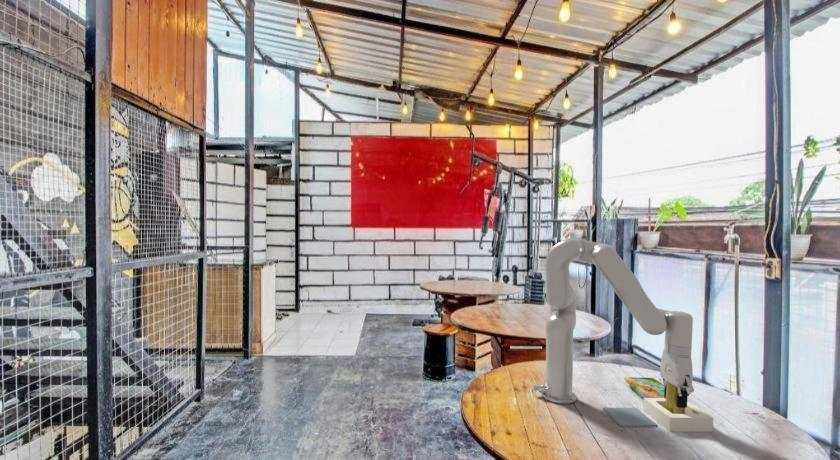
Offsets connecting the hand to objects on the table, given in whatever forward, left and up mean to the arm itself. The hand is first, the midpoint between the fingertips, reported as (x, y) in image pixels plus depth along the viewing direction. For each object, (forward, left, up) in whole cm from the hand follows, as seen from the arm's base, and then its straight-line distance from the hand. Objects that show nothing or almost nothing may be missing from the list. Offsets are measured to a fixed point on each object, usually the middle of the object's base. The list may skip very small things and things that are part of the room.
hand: (675, 402), depth 133 cm
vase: (0, 0, -6) cm, 6 cm away
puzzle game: (+3, +18, -7) cm, 19 cm away
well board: (0, 0, -6) cm, 6 cm away
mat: (-15, +2, -6) cm, 16 cm away
